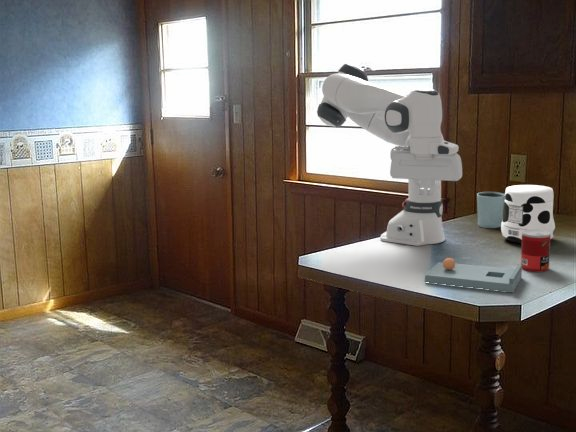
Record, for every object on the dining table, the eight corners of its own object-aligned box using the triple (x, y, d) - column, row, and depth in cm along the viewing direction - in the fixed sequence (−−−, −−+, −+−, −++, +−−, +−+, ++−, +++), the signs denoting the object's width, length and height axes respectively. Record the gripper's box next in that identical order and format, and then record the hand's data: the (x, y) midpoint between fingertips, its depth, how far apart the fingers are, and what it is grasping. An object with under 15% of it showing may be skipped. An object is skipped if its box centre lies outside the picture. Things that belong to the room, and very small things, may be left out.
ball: (441, 270, 197) (441, 259, 196) (444, 267, 200) (444, 256, 200) (453, 272, 196) (453, 260, 195) (456, 268, 199) (456, 257, 198)
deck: (425, 283, 195) (425, 269, 194) (438, 269, 207) (438, 256, 206) (512, 293, 184) (513, 278, 183) (521, 278, 196) (522, 264, 195)
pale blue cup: (474, 222, 264) (475, 191, 261) (502, 222, 262) (502, 191, 260) (478, 228, 254) (478, 196, 251) (506, 228, 252) (507, 196, 250)
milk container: (550, 234, 242) (552, 184, 238) (557, 247, 225) (560, 193, 221) (499, 233, 245) (500, 184, 242) (502, 246, 229) (504, 193, 225)
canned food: (545, 273, 199) (547, 236, 197) (517, 270, 203) (518, 234, 201) (551, 266, 206) (553, 230, 203) (524, 263, 210) (525, 228, 207)
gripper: (386, 147, 196) (387, 195, 199) (458, 148, 186) (457, 198, 189) (393, 144, 201) (394, 191, 204) (464, 145, 192) (463, 194, 195)
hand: (425, 194), depth 197 cm, fingers closed
